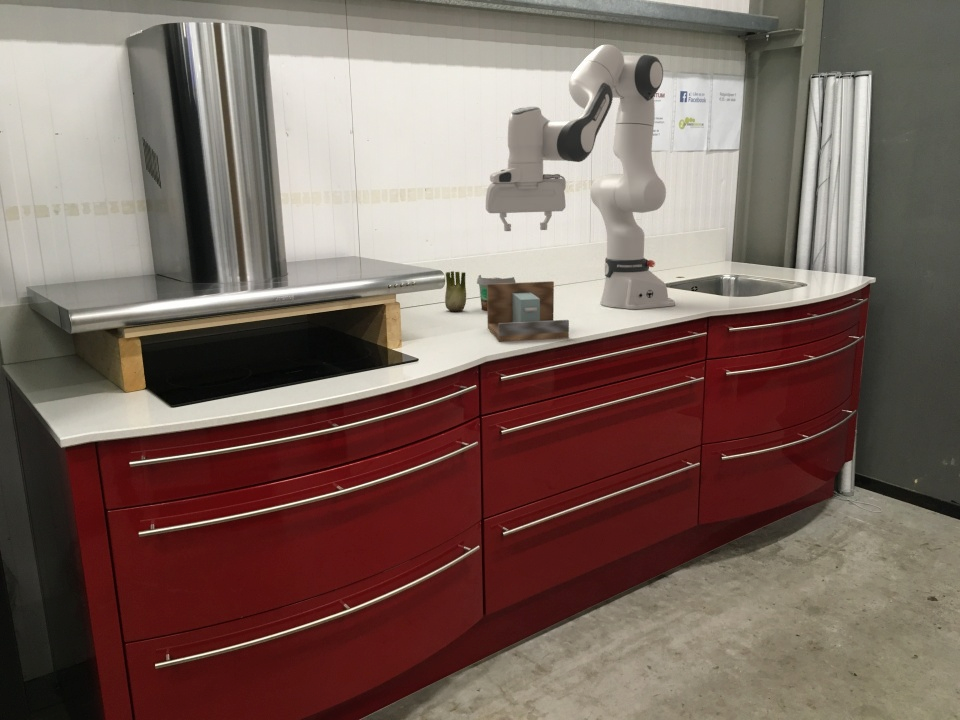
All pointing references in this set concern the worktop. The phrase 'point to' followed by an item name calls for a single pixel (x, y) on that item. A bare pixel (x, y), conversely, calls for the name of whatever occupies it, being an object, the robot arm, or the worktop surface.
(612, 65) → the robot arm
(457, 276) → the fennel bulb
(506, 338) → the wooden l-shaped stand
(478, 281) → the food container
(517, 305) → the mini cabinet
